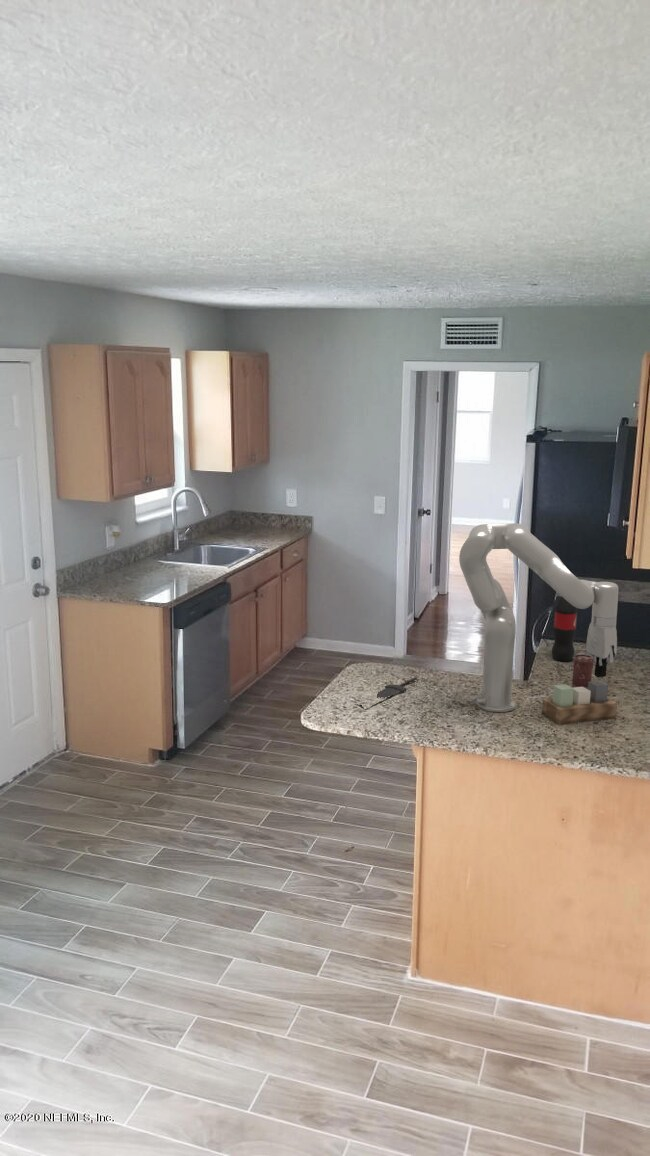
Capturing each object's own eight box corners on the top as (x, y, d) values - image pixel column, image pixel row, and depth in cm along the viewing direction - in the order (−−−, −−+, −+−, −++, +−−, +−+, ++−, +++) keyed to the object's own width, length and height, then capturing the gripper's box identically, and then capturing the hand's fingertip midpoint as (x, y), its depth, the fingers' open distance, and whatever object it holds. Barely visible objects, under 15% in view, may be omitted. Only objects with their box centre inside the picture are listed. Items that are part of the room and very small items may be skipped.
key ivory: (577, 713, 280) (578, 692, 278) (569, 708, 284) (570, 687, 282) (589, 711, 281) (590, 691, 280) (580, 707, 285) (582, 686, 284)
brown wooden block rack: (559, 725, 275) (560, 710, 274) (541, 714, 284) (542, 699, 283) (615, 717, 282) (617, 703, 280) (596, 707, 291) (598, 692, 290)
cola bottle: (576, 658, 344) (582, 583, 337) (569, 663, 337) (575, 587, 330) (555, 654, 348) (560, 580, 342) (548, 660, 341) (553, 584, 335)
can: (591, 699, 298) (594, 660, 295) (571, 698, 299) (575, 658, 296) (589, 693, 304) (592, 654, 301) (570, 692, 305) (573, 653, 302)
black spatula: (349, 708, 290) (349, 702, 289) (407, 678, 317) (407, 673, 316) (367, 712, 286) (367, 707, 285) (424, 682, 312) (424, 677, 312)
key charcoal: (594, 706, 281) (596, 685, 280) (586, 702, 285) (588, 681, 284) (606, 705, 283) (608, 684, 281) (598, 700, 287) (599, 680, 285)
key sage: (560, 710, 277) (561, 689, 276) (552, 706, 281) (553, 685, 280) (572, 709, 279) (573, 688, 277) (564, 704, 283) (565, 684, 281)
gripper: (579, 616, 284) (576, 670, 288) (608, 627, 270) (604, 684, 274) (599, 614, 286) (595, 668, 290) (628, 625, 273) (624, 682, 276)
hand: (600, 676), depth 282 cm, fingers closed
